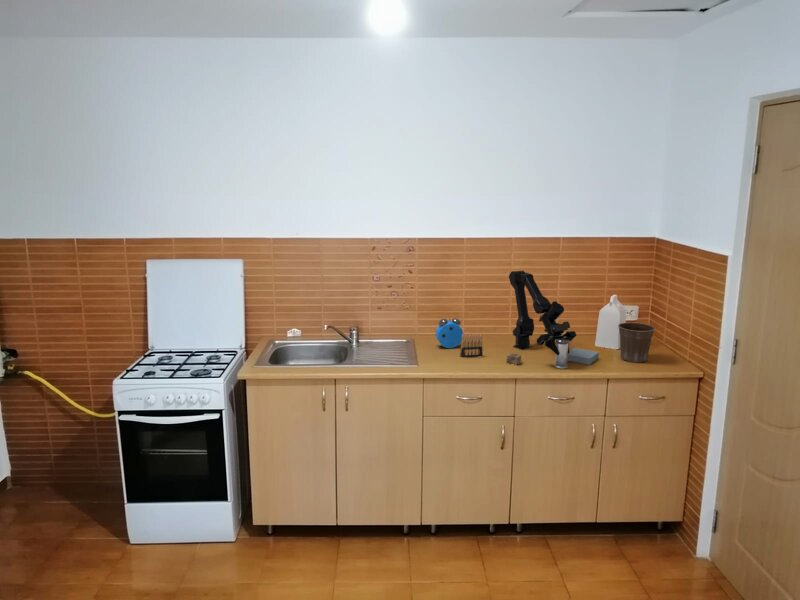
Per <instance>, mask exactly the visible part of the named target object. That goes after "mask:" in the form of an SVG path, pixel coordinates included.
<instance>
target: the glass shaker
mask: <svg viewBox="0 0 800 600" xmlns="http://www.w3.org/2000/svg"><path fill="white" fill-rule="evenodd" d="M568 343H569V344H570V341H569V339H566V338H557V339H556V340H555V344H556V347H557V349H558V351H559V355H557V354H556V353H555V362H554V365H553V367H554V366H555V367H556V369H560V370H565V369H568V360H567V356H568ZM555 367H554V368H555Z"/></svg>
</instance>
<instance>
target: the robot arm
mask: <svg viewBox="0 0 800 600" xmlns="http://www.w3.org/2000/svg"><path fill="white" fill-rule="evenodd" d="M508 279H509V281H510V286H512V288H513V289H514V295H515V296H514V297H515V301H516V308H517V309H516V311H517V316H518V317H517V321H516V323H515V325H516V326H515V328H514V329H513V330H512V335H513V336H514V337H515V344H514V345H513V346H512V347H514V348H516V349H519V350H526V349H530V348H532V346H531V345H530V341H531V339H530V337H532V336H533V334H534V331H535V325H534V324H535V323H534V319H533V318H531V317H530V316H529V311H528V309H529V308H528V302H527V296H526V290H527V291H528V294H529V295H530V297H531V299H532V307H533V310H534V311H535V313H536V314H538V315H539V314H541V315H540V317H539V318H538V322H542V324H543V326H544V328H545V329H544V333H542V334H540V336H538V338H537V339H536V345H537V346H544V347H547V348H548V349H549V350H551V351H552V352H553V353H555V355H556V354H557V355H559V351H558V349H557V347H556V344H557V343H556V339H557V338H566V339H569V343H568V354H569V353H570V352H569V351H570V342H571V341H573V339H574V338H576V337H577V333H576V331H575V330H569V329H570V328H571V324H570V323H569V321H563V322H562V323H558V322H557V321H556V320H558V318H560V316H562V314H563V313H564V312H565V307H564V306H563V305H562V304H560V303H558V302H557V301H558V300H557V301H555V300H554V301H552V302H550V300H549V299H548V298H547V297H545V296H544V295H543V294H542V292H541V289H540V288H539V287H538V284H537V282H536V280H535V279H534V275H533V274H532V273H530V272H526V271H524V270H515V271H514V270H512V271H510V273H509V274H508ZM525 288H526V289H525ZM565 331H566V332H565ZM545 333H546V334H545Z"/></svg>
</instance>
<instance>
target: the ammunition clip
mask: <svg viewBox="0 0 800 600" xmlns="http://www.w3.org/2000/svg"><path fill="white" fill-rule="evenodd" d="M468 335H469V336H468ZM459 356H460V358H461V357H467V358H479V357H478V356H483V334H482V332H480V334H479V332H476V334H475V332H473V333H471V332H470V333H469V334H468V332H466V333H465V334H464V333H463V334H462V341H461V343H460V353H459Z"/></svg>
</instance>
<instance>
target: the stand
mask: <svg viewBox="0 0 800 600" xmlns="http://www.w3.org/2000/svg"><path fill="white" fill-rule="evenodd" d="M569 352H570V353H569V354H568V356H567V362H568V361H569V362H573V363H578V364H583V365H587V366H590V365H592V364H593V363H594V362H595V361H598V359H599V354H600V352H598V351H593V350H589V349H582V348H577V347H574V348H572V349H569Z"/></svg>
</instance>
